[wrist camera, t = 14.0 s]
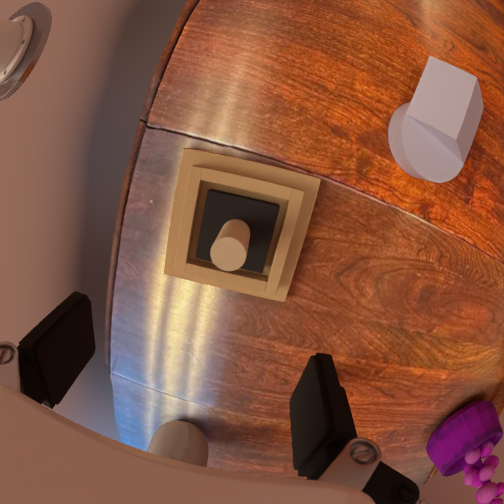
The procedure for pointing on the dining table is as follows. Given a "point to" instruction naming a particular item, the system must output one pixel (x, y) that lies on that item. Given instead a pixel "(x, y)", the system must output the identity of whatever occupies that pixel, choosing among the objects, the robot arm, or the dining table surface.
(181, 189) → the base pad
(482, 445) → the decorative plant
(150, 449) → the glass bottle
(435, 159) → the wedge on round base
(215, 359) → the dining table surface
